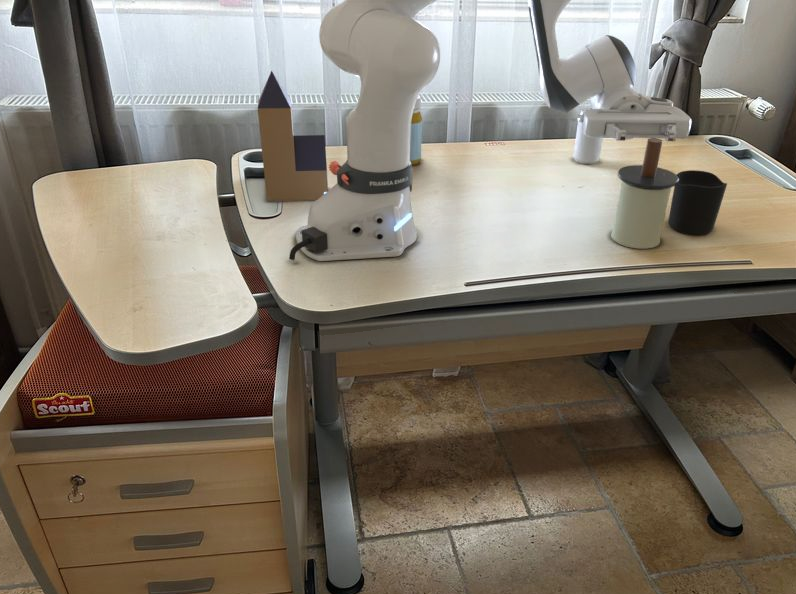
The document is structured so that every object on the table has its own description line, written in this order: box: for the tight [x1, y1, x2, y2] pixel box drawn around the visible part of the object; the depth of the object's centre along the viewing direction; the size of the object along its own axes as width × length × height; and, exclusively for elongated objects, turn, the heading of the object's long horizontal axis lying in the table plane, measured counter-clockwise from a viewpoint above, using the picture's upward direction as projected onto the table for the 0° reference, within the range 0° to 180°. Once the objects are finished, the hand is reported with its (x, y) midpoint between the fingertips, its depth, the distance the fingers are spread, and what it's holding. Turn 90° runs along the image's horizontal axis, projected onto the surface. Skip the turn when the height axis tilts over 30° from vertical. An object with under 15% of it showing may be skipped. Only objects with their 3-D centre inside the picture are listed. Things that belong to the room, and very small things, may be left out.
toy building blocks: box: [257, 70, 329, 203], centre depth 149 cm, size 12×19×25 cm, turn 10°
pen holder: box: [667, 169, 728, 236], centre depth 141 cm, size 9×9×10 cm
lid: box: [617, 138, 679, 189], centre depth 129 cm, size 11×11×7 cm
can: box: [610, 180, 673, 250], centre depth 135 cm, size 9×9×12 cm
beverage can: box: [572, 107, 604, 165], centre depth 172 cm, size 6×6×12 cm
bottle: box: [410, 95, 423, 166], centre depth 167 cm, size 7×7×15 cm
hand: (647, 136), depth 131 cm, fingers open, 8 cm apart
